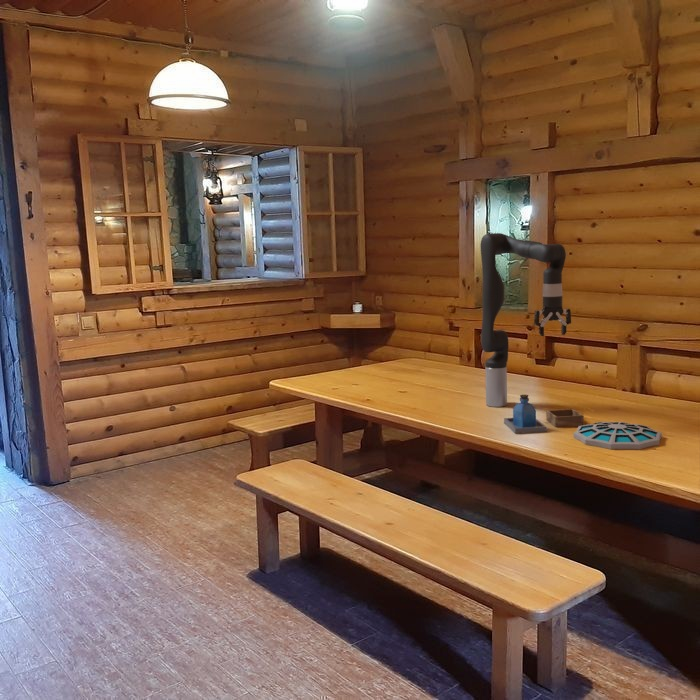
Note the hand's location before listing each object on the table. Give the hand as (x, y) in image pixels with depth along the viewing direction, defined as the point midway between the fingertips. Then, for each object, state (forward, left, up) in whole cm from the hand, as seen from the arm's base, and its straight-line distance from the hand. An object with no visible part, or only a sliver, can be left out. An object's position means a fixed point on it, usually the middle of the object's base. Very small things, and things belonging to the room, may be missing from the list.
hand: (552, 335), depth 291 cm
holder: (+8, +2, -34) cm, 35 cm away
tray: (+11, -15, -34) cm, 39 cm away
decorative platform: (+32, +13, -35) cm, 49 cm away
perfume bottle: (+11, -15, -34) cm, 38 cm away
